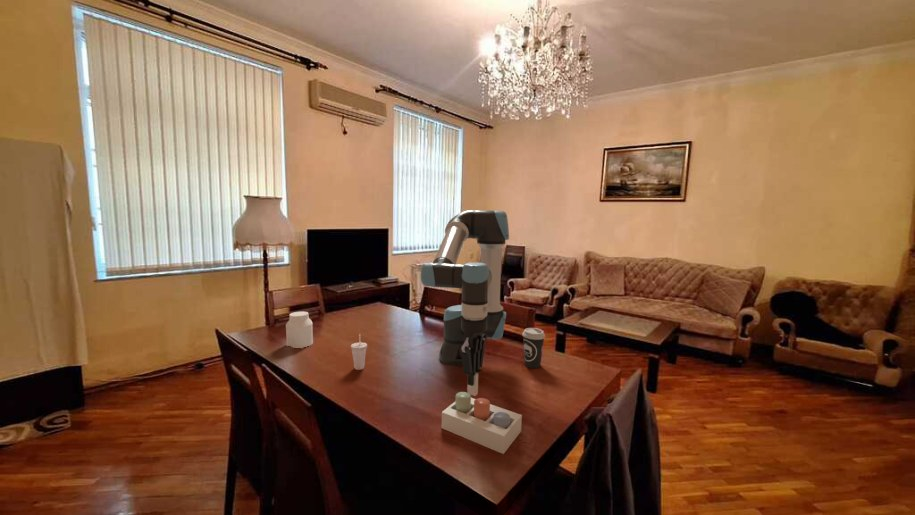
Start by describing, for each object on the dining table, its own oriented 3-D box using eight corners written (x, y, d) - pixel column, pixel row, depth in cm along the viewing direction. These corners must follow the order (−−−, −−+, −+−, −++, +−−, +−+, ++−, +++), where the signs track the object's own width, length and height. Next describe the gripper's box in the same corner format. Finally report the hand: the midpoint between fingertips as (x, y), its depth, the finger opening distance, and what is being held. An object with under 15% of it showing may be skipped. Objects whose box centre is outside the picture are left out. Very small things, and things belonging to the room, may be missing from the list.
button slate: (490, 437, 98) (490, 417, 97) (497, 429, 101) (498, 410, 101) (504, 443, 95) (505, 423, 94) (511, 435, 99) (512, 415, 98)
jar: (316, 343, 167) (315, 313, 165) (298, 350, 159) (297, 318, 157) (301, 339, 172) (300, 309, 171) (283, 345, 164) (281, 314, 162)
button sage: (452, 415, 104) (452, 396, 103) (460, 408, 108) (460, 390, 107) (465, 420, 102) (465, 401, 101) (473, 413, 106) (473, 394, 105)
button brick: (470, 422, 101) (471, 403, 100) (478, 415, 105) (478, 396, 104) (484, 428, 98) (485, 408, 98) (492, 420, 102) (492, 401, 101)
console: (441, 428, 102) (441, 412, 101) (463, 409, 112) (463, 394, 112) (503, 454, 91) (504, 436, 91) (521, 431, 101) (521, 415, 101)
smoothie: (370, 366, 143) (370, 333, 141) (360, 372, 137) (359, 338, 135) (358, 363, 146) (358, 331, 144) (347, 369, 140) (347, 335, 138)
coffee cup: (544, 371, 142) (546, 335, 140) (520, 368, 144) (522, 333, 142) (543, 361, 151) (545, 328, 149) (521, 359, 153) (522, 326, 151)
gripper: (475, 325, 92) (473, 407, 96) (495, 313, 104) (493, 387, 107) (451, 320, 96) (450, 399, 99) (473, 309, 107) (472, 381, 110)
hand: (472, 393), depth 103 cm, fingers closed
